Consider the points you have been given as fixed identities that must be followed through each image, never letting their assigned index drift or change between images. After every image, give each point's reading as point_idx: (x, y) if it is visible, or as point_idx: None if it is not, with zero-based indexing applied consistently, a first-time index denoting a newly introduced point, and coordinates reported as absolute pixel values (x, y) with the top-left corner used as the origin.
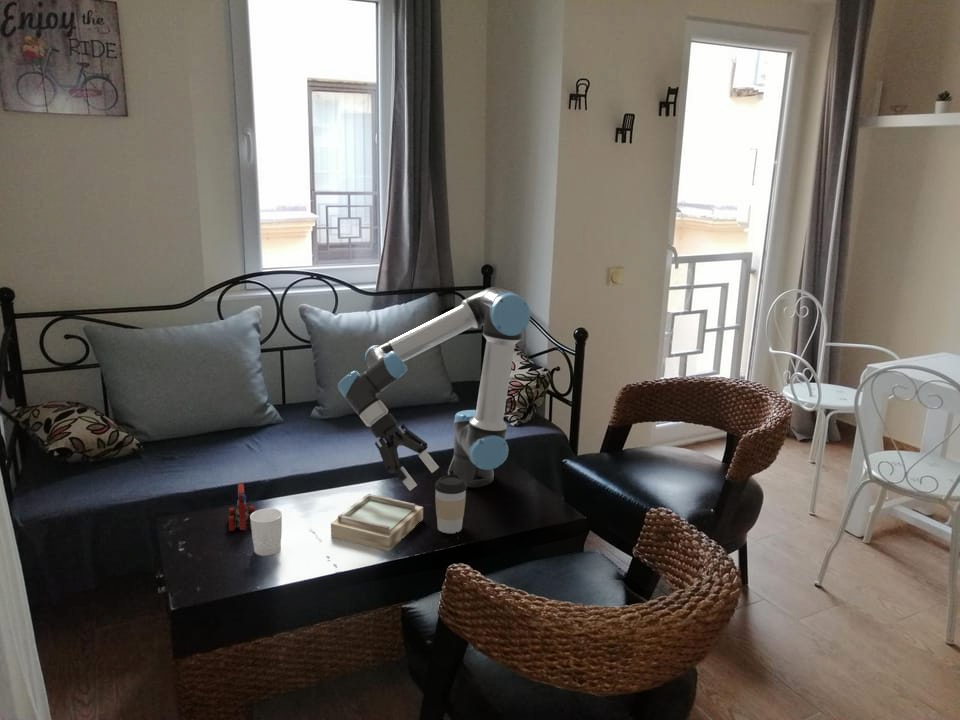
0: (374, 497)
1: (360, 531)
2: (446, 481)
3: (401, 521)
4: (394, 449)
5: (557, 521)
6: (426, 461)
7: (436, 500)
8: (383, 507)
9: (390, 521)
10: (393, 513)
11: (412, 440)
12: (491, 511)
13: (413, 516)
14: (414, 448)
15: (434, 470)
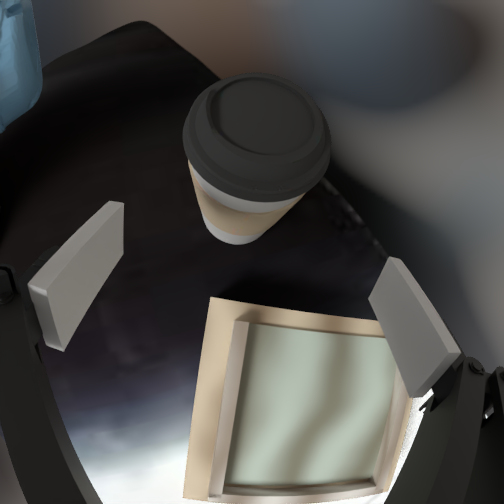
0: (224, 477)
1: (408, 411)
2: (276, 131)
3: (337, 331)
4: (459, 497)
5: (155, 34)
6: (91, 279)
7: (290, 207)
8: (267, 427)
9: (354, 362)
10: (300, 378)
11: (13, 442)
12: (119, 132)
13: (285, 309)
14: (49, 393)
15: (121, 233)
